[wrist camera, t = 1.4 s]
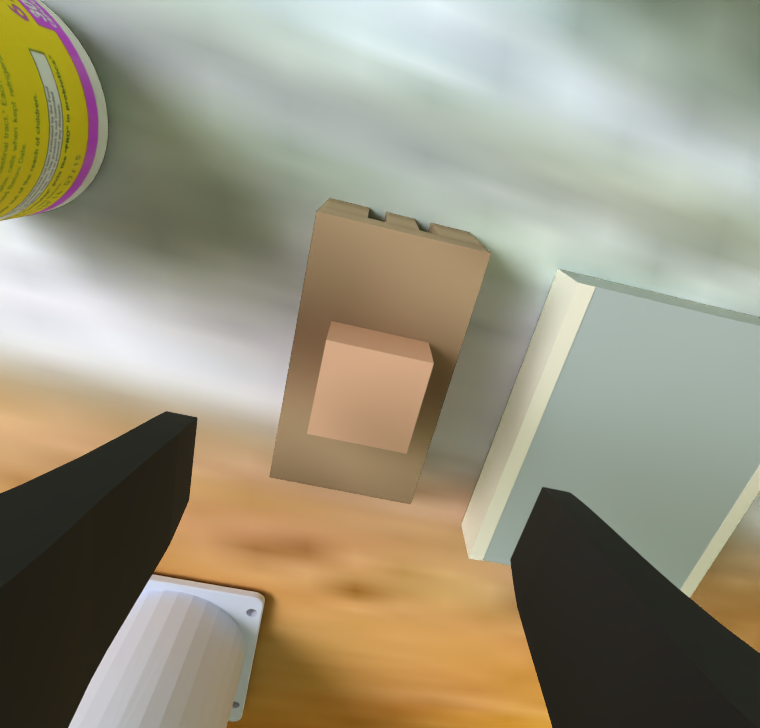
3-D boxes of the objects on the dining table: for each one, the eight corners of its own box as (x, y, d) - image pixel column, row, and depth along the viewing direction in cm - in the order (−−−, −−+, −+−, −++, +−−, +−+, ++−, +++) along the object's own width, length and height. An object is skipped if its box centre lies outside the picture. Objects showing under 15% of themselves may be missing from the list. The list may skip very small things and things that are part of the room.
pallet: (405, 442, 21) (410, 504, 18) (289, 419, 21) (269, 476, 17) (468, 231, 18) (491, 253, 14) (330, 197, 17) (316, 211, 14)
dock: (664, 563, 24) (689, 598, 22) (461, 524, 23) (468, 558, 21) (806, 328, 19) (852, 348, 17) (558, 268, 18) (578, 282, 16)
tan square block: (404, 426, 16) (406, 453, 15) (313, 407, 16) (306, 433, 15) (428, 342, 15) (434, 363, 14) (331, 321, 15) (326, 340, 13)
